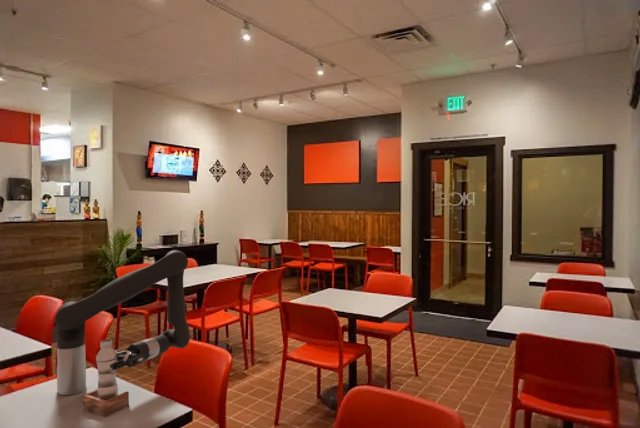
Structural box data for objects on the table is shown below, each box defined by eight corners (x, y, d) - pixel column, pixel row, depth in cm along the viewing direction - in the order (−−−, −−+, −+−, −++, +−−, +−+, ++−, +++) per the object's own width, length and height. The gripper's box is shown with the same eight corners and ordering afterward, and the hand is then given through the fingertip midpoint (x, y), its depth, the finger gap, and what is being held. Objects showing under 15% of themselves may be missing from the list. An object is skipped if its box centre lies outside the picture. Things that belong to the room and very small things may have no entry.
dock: (82, 409, 150) (82, 395, 150) (106, 399, 158) (106, 385, 158) (105, 417, 145) (105, 402, 145) (128, 406, 153) (128, 391, 152)
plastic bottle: (110, 403, 148) (108, 344, 148) (92, 401, 149) (90, 343, 149) (122, 395, 154) (120, 338, 154) (105, 393, 156) (103, 337, 155)
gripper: (130, 338, 169) (91, 351, 154) (156, 343, 162) (117, 357, 147) (131, 357, 169) (91, 372, 154) (157, 363, 162) (118, 379, 148)
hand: (104, 365), depth 151 cm, fingers open, 8 cm apart
